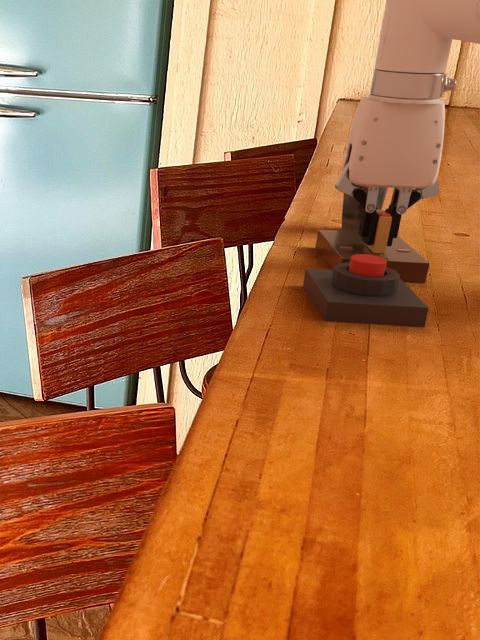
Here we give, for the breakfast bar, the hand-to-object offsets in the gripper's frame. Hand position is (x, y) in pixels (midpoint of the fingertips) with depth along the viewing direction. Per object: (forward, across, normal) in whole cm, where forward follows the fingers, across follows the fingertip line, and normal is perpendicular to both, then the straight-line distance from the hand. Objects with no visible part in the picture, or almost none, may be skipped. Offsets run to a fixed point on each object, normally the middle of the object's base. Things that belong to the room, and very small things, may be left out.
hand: (376, 242), depth 109 cm
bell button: (0, +5, +15) cm, 16 cm away
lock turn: (+1, 0, 0) cm, 1 cm away
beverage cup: (+4, -3, -19) cm, 20 cm away
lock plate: (+3, 0, -2) cm, 4 cm away
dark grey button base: (+3, +5, +15) cm, 16 cm away
